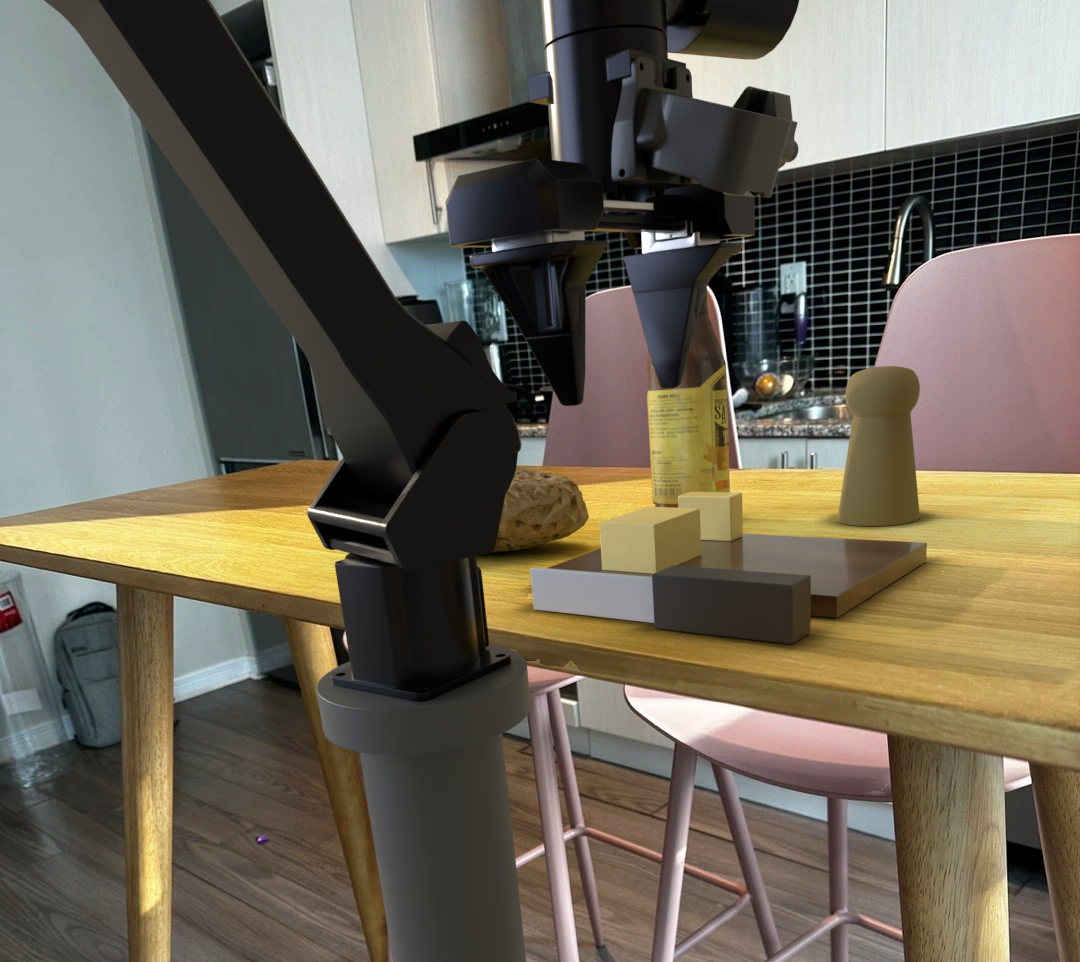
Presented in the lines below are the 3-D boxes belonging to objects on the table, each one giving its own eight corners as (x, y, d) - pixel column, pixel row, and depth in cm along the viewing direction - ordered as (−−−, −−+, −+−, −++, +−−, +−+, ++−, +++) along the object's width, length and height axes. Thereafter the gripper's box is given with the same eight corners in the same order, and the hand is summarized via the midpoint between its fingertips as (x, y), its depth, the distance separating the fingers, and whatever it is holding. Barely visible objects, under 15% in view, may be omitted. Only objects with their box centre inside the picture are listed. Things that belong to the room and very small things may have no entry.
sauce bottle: (736, 525, 81) (731, 249, 74) (657, 531, 81) (644, 257, 74) (723, 511, 87) (717, 255, 80) (649, 518, 87) (637, 263, 80)
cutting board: (836, 618, 54) (837, 596, 54) (538, 589, 66) (537, 571, 66) (926, 561, 64) (927, 542, 64) (654, 545, 76) (653, 529, 76)
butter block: (656, 574, 62) (654, 524, 61) (601, 570, 64) (598, 522, 63) (701, 555, 66) (700, 508, 65) (648, 551, 68) (646, 506, 67)
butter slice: (731, 541, 69) (730, 496, 68) (679, 539, 71) (677, 495, 70) (743, 536, 71) (742, 492, 69) (691, 534, 73) (690, 491, 72)
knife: (792, 644, 51) (792, 585, 50) (524, 613, 61) (519, 563, 60) (811, 633, 52) (811, 575, 51) (546, 604, 62) (542, 555, 61)
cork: (933, 513, 78) (941, 361, 75) (898, 528, 74) (904, 368, 71) (859, 509, 82) (863, 365, 79) (822, 523, 78) (824, 372, 75)
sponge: (338, 567, 85) (456, 541, 68) (332, 471, 84) (450, 421, 68) (475, 566, 92) (612, 543, 76) (470, 478, 91) (608, 435, 75)
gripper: (645, -49, 36) (664, 411, 42) (852, 33, 50) (846, 373, 55) (417, 30, 43) (460, 418, 48) (655, 84, 56) (667, 382, 62)
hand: (624, 396), depth 53 cm, fingers open, 9 cm apart
